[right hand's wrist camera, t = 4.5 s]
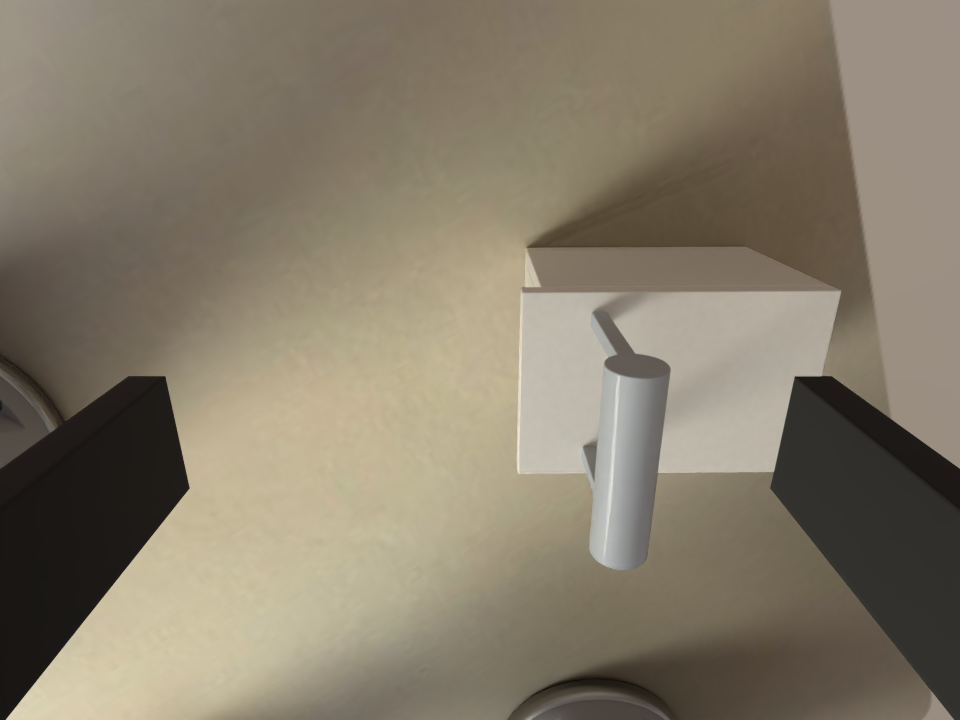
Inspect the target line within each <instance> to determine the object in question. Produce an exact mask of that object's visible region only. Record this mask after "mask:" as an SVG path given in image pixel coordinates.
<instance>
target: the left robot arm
mask: <svg viewBox="0 0 960 720" xmlns="http://www.w3.org/2000/svg"><path fill="white" fill-rule="evenodd" d="M508 720H675V718H674V716H673V714H672V713H671V711H670V710H669V708H668V707H667V706H666V705H665V704H664V703H663V702H662V701H661V700H660V699H659V698H657V697H656V696H654V695H653V694H651V693H650V692H648V691H646V690H644V689H642V688H639V687H637V686H634V685H631V684H628V683H624V682H619V681H613V680H599V679H593V680H580V681H573V682H568V683H564V684H560V685H557V686H554V687H551V688H549V689H546V690H544V691H542V692H540V693H538V694H536V695H534V696H533V697H531V698H530V699H528V700H527V701H526V702H524V703H523V704H522V705H521V706H520V707H519V708H517V709H516V710H515V712H514V713H513V714H512V715H511V717H510V718H509V719H508Z"/></svg>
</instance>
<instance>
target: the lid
mask: <svg viewBox="0 0 960 720" xmlns="http://www.w3.org/2000/svg"><path fill="white" fill-rule="evenodd" d="M840 296H841V290H839V289H837V288H835V287H832V286H672V287H522V288H521V299H520V344H519V389H518V434H517V470H518V473H519V474H540V473H586V474H587V477H588V480H589V483H590V487H591V490H592V493H593V504H592V516H591V529H590V541H589V549H590V552H591V554H592V556H593V557H594V558H595V559H596V560H597V561H598V562H599V563H601V564H602V565H604V566H607V567H609V568H612V569H617V570H631V569H635V568H637V567H639V566H641V565H642V564H643V563H644V562H645V561H646V559H647V554H648V546H649V538H650V530H651V522H652V514H653V506H654V498H655V491H656V483H657V475H658V473H691V472H774V470H775V465H776V460H777V456H778V451H779V447H780V442H781V437H782V433H783V428H784V423H785V419H786V414H787V410H788V405H789V400H790V396H791V391H792V387H793V382H794V377H795V376H822V374H823V370H824V365H825V361H826V357H827V352H828V348H829V344H830V339H831V335H832V331H833V326H834V322H835V318H836V313H837V309H838V305H839V300H840Z"/></svg>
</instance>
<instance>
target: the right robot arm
mask: <svg viewBox="0 0 960 720" xmlns="http://www.w3.org/2000/svg"><path fill="white" fill-rule="evenodd" d="M188 490H189V483H188V479H187V474H186V470H185V465H184V460H183V456H182V451H181V447H180V442H179V437H178V433H177V428H176V423H175V419H174V414H173V410H172V405H171V400H170V396H169V391H168V387H167V382H166V377H165V376H128V377H127V378H126V379H124V380H123V381H121V382H120V383H119V384H117V385H116V386H114V387H113V388H112V389H110V390H109V391H108V392H106V393H105V394H103V395H102V396H101V397H99V398H98V399H96V400H95V401H94V402H92V403H91V404H89V405H88V406H87V407H85V408H84V409H83V410H81V411H80V412H78V413H77V414H76V415H74V416H73V417H71V418H70V419H69V420H67V421H66V422H65V423H63V422H62V420H61V418H60V416H59V414H58V412H57V411H56V409H55V407H54V406H53V405H52V403H51V402H50V400H49V399H48V398H47V396H46V395H45V394H44V393H43V392H42V391H41V389H40V388H39V387H38V386H37V385H36V384H35V383H34V382H33V381H32V380H31V379H30V378H29V377H27V376H26V375H25V374H24V373H23V372H22V371H20V370H19V369H18V368H16V367H15V366H14V365H12V364H11V363H10V362H8V361H7V360H5V359H4V358H2V357H0V720H6V719H7V717H8V716H9V715H10V714H11V712H12V711H13V710H14V708H15V707H16V706H17V705H18V703H19V702H20V701H21V700H22V698H23V697H24V696H25V695H26V693H27V692H28V691H29V690H30V688H31V687H32V686H33V685H34V683H35V682H36V681H37V680H38V678H39V677H40V676H41V675H42V673H43V672H44V671H45V670H46V668H47V667H48V666H49V664H50V663H51V662H52V661H53V659H54V658H55V657H56V656H57V654H58V653H59V652H60V651H61V649H62V648H63V647H64V646H65V644H66V643H67V642H68V641H69V639H70V638H71V637H72V636H73V634H74V633H75V632H76V631H77V629H78V628H79V627H80V625H81V624H82V623H83V622H84V620H85V619H86V618H87V617H88V615H89V614H90V613H91V612H92V610H93V609H94V608H95V607H96V605H97V604H98V603H99V602H100V600H101V599H102V598H103V597H104V595H105V594H106V593H107V592H108V590H109V589H110V588H111V586H112V585H113V584H114V583H115V581H116V580H117V579H118V578H119V576H120V575H121V574H122V573H123V571H124V570H125V569H126V568H127V566H128V565H129V564H130V563H131V561H132V560H133V559H134V558H135V556H136V555H137V554H138V553H139V551H140V550H141V549H142V547H143V546H144V545H145V544H146V542H147V541H148V540H149V539H150V537H151V536H152V535H153V534H154V532H155V531H156V530H157V529H158V527H159V526H160V525H161V524H162V522H163V521H164V520H165V519H166V517H167V516H168V515H169V514H170V512H171V511H172V510H173V509H174V507H175V506H176V505H177V503H178V502H179V501H180V500H181V498H182V497H183V496H184V495H185V493H186V492H187V491H188ZM771 490H772V491H773V492H774V493H775V495H776V496H777V497H778V498H779V500H780V501H781V502H782V503H783V505H784V506H785V507H786V509H787V510H788V511H789V512H790V514H791V515H792V516H793V517H794V519H795V520H796V521H797V522H798V524H799V525H800V526H801V527H802V529H803V530H804V531H805V532H806V534H807V535H808V536H809V537H810V539H811V540H812V541H813V542H814V544H815V545H816V546H817V548H818V549H819V550H820V551H821V553H822V554H823V555H824V556H825V558H826V559H827V560H828V561H829V563H830V564H831V565H832V566H833V568H834V569H835V570H836V571H837V573H838V574H839V575H840V576H841V578H842V579H843V580H844V581H845V583H846V584H847V585H848V586H849V588H850V589H851V590H852V592H853V593H854V594H855V595H856V597H857V598H858V599H859V600H860V602H861V603H862V604H863V605H864V607H865V608H866V609H867V610H868V612H869V613H870V614H871V615H872V617H873V618H874V619H875V620H876V622H877V623H878V624H879V625H880V627H881V628H882V629H883V631H884V632H885V633H886V634H887V636H888V637H889V638H890V639H891V641H892V642H893V643H894V644H895V646H896V647H897V648H898V649H899V651H900V652H901V653H902V654H903V656H904V657H905V658H906V659H907V661H908V662H909V663H910V664H911V666H912V667H913V668H914V670H915V671H916V672H917V673H918V675H919V676H920V677H921V678H922V680H923V681H924V682H925V683H926V685H927V686H928V687H929V688H930V690H931V691H932V692H933V693H934V695H935V696H936V697H937V698H938V700H939V701H940V702H941V703H942V705H943V706H944V707H945V708H946V710H947V711H948V712H949V714H950V715H951V716H952V717H953V719H954V720H960V469H959V468H958V467H957V466H955V465H954V464H952V463H951V462H950V461H948V460H947V459H945V458H944V457H942V456H941V455H940V454H938V453H937V452H936V451H934V450H933V449H931V448H930V447H929V446H927V445H926V444H925V443H923V442H922V441H920V440H919V439H918V438H916V437H915V436H914V435H912V434H911V433H909V432H908V431H907V430H905V429H904V428H902V427H901V426H900V425H898V424H897V423H895V422H894V421H893V420H891V419H890V418H889V417H887V416H886V415H884V414H883V413H882V412H880V411H879V410H877V409H876V408H875V407H873V406H872V405H871V404H869V403H868V402H866V401H865V400H864V399H862V398H861V397H859V396H858V395H857V394H855V393H854V392H852V391H851V390H850V389H848V388H847V387H846V386H844V385H843V384H841V383H840V382H839V381H837V380H836V379H834V378H833V377H832V376H795V377H794V382H793V387H792V391H791V396H790V400H789V405H788V410H787V414H786V419H785V423H784V428H783V433H782V437H781V442H780V447H779V451H778V456H777V460H776V465H775V470H774V474H773V479H772V483H771Z"/></svg>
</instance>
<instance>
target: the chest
mask: <svg viewBox="0 0 960 720" xmlns="http://www.w3.org/2000/svg"><path fill="white" fill-rule="evenodd" d="M672 286H829V285H828V284H826V283H824V282H821V281H819V280H817V279H815V278H813V277H811V276H808V275H806V274H804V273H802V272H800V271H797V270H795V269H793V268H791V267H789V266H787V265H784V264H782V263H780V262H778V261H776V260H774V259H771V258H769V257H767V256H765V255H763V254H760V253H758V252H756V251H754V250H752V249H750V248H748V247H563V248H526V260H525V287H672Z"/></svg>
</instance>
